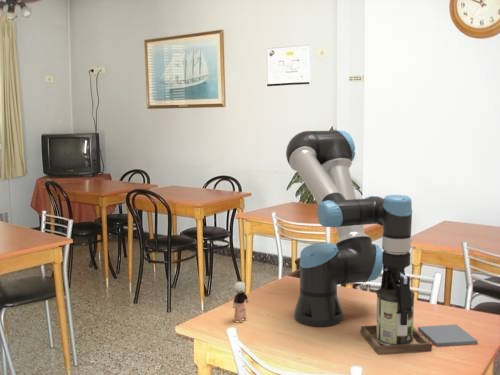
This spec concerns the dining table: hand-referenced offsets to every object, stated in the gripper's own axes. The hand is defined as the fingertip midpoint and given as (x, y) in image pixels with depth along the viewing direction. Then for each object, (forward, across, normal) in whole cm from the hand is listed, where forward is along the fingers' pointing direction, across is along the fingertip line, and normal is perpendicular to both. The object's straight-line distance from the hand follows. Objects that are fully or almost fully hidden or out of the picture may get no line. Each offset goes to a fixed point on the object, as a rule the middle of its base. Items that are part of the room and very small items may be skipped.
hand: (394, 327), depth 153 cm
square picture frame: (+4, 0, 0) cm, 4 cm away
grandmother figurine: (+5, +22, +42) cm, 48 cm away
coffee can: (+4, 0, 0) cm, 4 cm away
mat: (+4, +1, -16) cm, 17 cm away
